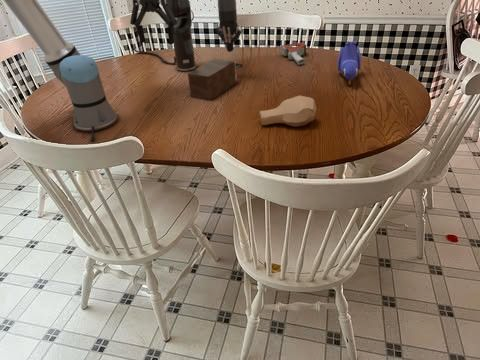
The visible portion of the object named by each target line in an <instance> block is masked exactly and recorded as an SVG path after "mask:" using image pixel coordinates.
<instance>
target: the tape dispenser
mask: <svg viewBox="0 0 480 360" xmlns="http://www.w3.org/2000/svg"><path fill="white" fill-rule="evenodd" d="M293 46H294V47H293ZM279 48H280V49H279V50H280V54H281V55H283V57H287V58H288V60H289V61H291V60H292V61H293V60H294V61H295V63H296V64H297V66H300V65H303V64H304V63H305V58H303V57H302V56H305V55H306V53H307V44H306V43H305V42H295V43H289V44H280V46H279Z"/></svg>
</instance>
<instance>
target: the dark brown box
mask: <svg viewBox="0 0 480 360" xmlns="http://www.w3.org/2000/svg"><path fill="white" fill-rule="evenodd" d="M235 62H236V61H235V60H229V59H220V58H219V59H218V58H213V59H211V60H209V61H208V62H206V63H204V64H202V65H200V66H199V67H196V68H195V69H193V70H190V72H189V71H188V73H187V78H188V79H187V80H188V87H189V92H190V97H192V98H198V99H202V100H209V101H213V100H214V99H215V98H216V97H218V96H220V95H221V94H222V93H224V92H225V91H227V90H229V89H230V88H231V87H233V86H234V85H236V83H237V80H236V79H235Z"/></svg>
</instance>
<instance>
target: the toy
mask: <svg viewBox="0 0 480 360" xmlns="http://www.w3.org/2000/svg"><path fill="white" fill-rule="evenodd" d="M356 44H358V43H357V41H355V40H353V41H351V42H350V41H346V42H345V45H344V46H341V47H340V50H339V53H338V56H337V61H336V62H337V63H336V68H337V71H339V73H340V74H341V75H342V76H343V77H344V78H345V80H347V83H348V86H350V85H351V83H352V81H353V80H354V79H356V77H357V76H358V75H359V71H360V70H361V67H362V54H361V50H360V46H359V45H357V46H356Z"/></svg>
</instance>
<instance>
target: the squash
mask: <svg viewBox="0 0 480 360" xmlns="http://www.w3.org/2000/svg"><path fill="white" fill-rule="evenodd" d="M317 109H318V107H317V104H316V101H315V99H314V98H312V97H310V96H305V95H300V94H299V95H296V96H293V97H291V98H287V99H284V100H283V101H282V102H281V103H280V104H279V105H278V106H277V107H275V108H271V109H266V110H260V111H259V112H258V115H259V116H258V117H259V118H260V123H261V125H262V126H268V125H272V124H285V125H288V126H291V127H294V128H295V127H304V126H306V125H308V124H309V123H311V122H313V121H314V120H315V117H316V115H317Z"/></svg>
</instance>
